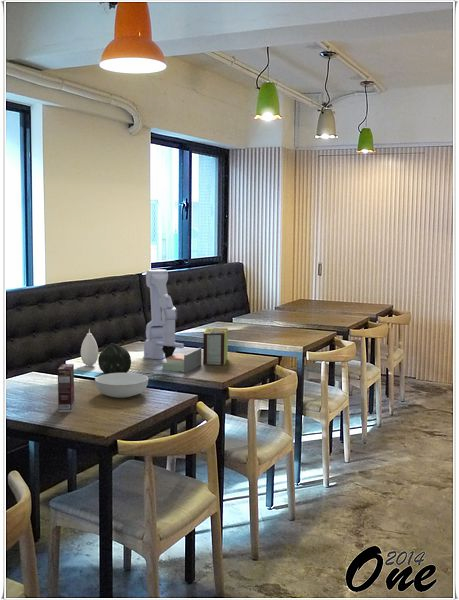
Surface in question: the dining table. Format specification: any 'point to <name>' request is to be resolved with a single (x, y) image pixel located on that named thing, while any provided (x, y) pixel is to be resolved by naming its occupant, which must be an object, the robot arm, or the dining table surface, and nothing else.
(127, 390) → the serving bowl
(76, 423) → the dining table surface
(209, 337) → the protein box
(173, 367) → the grey printed box
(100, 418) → the dining table surface
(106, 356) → the squash
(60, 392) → the supplement box
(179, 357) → the carton
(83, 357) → the white teardrop bulb
